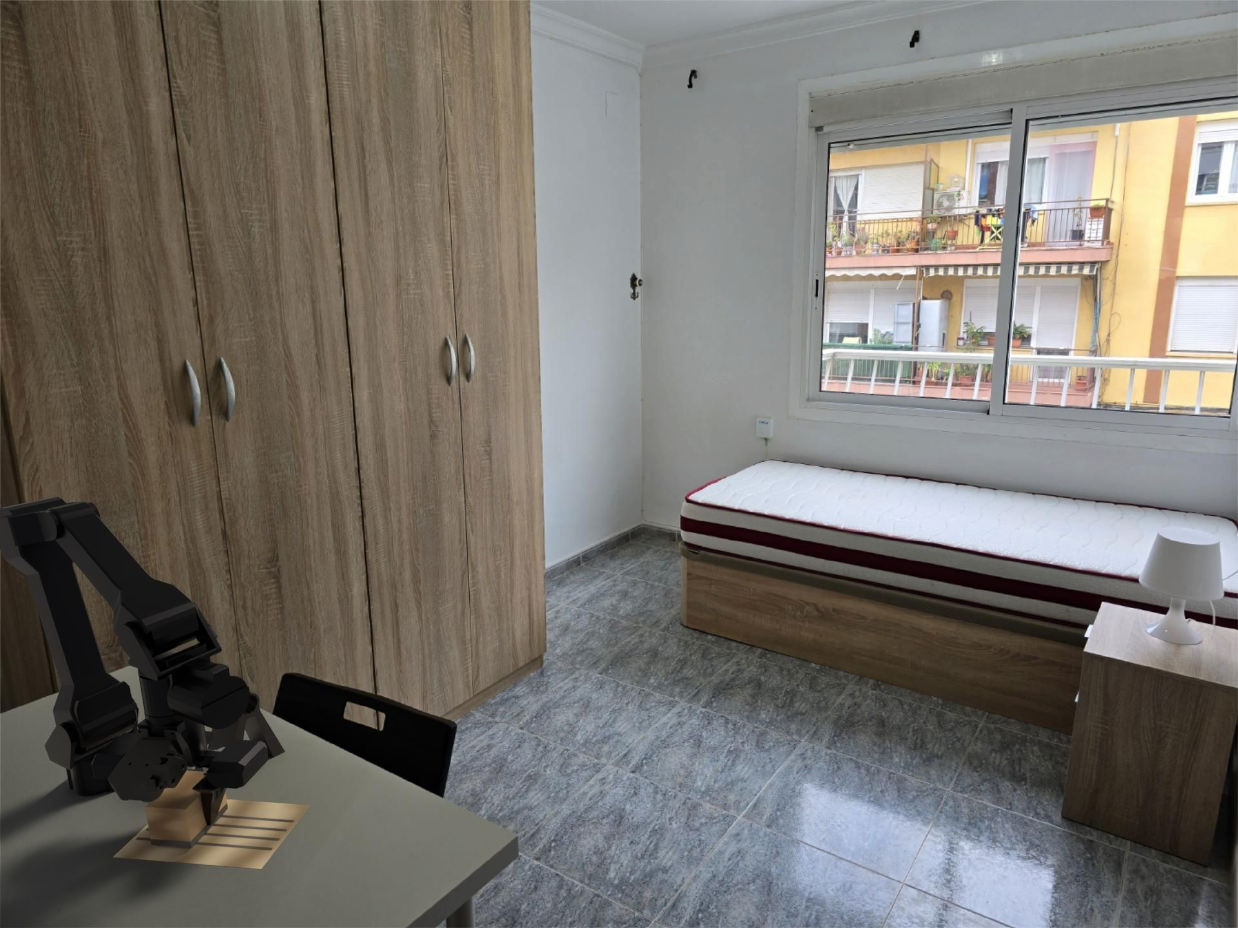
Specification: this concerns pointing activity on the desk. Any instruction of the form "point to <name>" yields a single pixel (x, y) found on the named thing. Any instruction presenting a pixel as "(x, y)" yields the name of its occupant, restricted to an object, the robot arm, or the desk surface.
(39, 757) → the desk surface
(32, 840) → the desk surface
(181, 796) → the block
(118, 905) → the desk surface
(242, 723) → the phone stand
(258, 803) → the pine board
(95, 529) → the robot arm
